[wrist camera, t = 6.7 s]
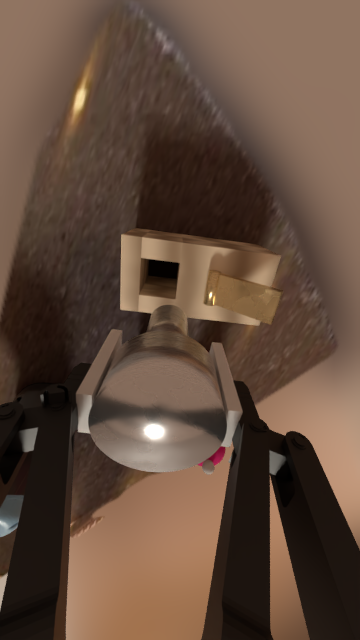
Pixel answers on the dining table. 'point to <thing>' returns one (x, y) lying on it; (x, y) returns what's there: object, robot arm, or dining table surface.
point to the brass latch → (242, 296)
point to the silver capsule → (160, 399)
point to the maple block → (188, 271)
